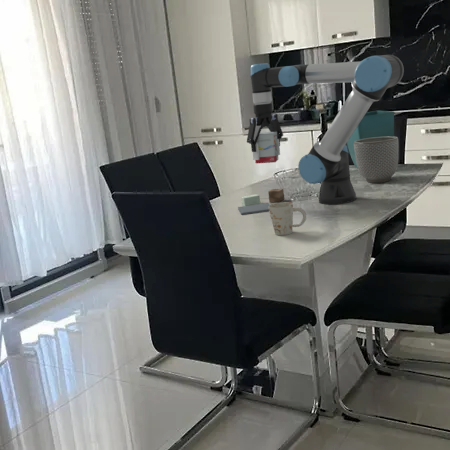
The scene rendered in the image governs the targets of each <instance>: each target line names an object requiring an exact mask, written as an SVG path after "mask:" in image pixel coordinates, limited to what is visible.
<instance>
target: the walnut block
mask: <svg viewBox="0 0 450 450" xmlns="http://www.w3.org/2000/svg"><path fill="white" fill-rule="evenodd" d="M284 193H285V192H284V188H271V189H270V190H268V200H269V202H268V203H269V204H272V203H280V202H283V201H284V200H285V194H284Z"/></svg>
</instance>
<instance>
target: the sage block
mask: <svg viewBox="0 0 450 450" xmlns="http://www.w3.org/2000/svg"><path fill="white" fill-rule="evenodd" d="M240 198H241V199H240V200H241V207H242V206H249V205H256V204H261V200H260V199H261V198H260V195H259V194H257V193H255V194H250V195H245V196H241V197H240Z"/></svg>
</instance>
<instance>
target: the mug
mask: <svg viewBox="0 0 450 450" xmlns="http://www.w3.org/2000/svg"><path fill="white" fill-rule="evenodd" d="M294 212H299V213H301V215H302V219H301V221H300V223H298V224H297V223H296V224H293V221H294V220H293V219H294V218H293V216H294V214H293V213H294ZM268 213H269V215H270V219H271V223H272V224H271V225H272V228H273V231H274V235H277V236H286V235H291V234H292V233H293V228H298V227H301V226H303V225H304V224H305V222H306V220H307V213H306V211H305V210H304V209H303V208H302V207H297V206H296V207H294V204H293V202H290V201H284V202H283V201H281V202H273V203H270V204H269V211H268Z"/></svg>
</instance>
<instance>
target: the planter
mask: <svg viewBox="0 0 450 450" xmlns="http://www.w3.org/2000/svg"><path fill="white" fill-rule="evenodd" d="M354 150H355V157H356V163H357V168H358V169H357V170H358V173H359V175H360V176H361V177H362V178H364V179H365V181H366V182H367V183H370V184H371V183H372V184H375V183H376V184H378V183H379V184H380V183H385V182H389V181H391V179H392V177H393V176H394V175H395V174H396V172H397V169H398V166H399V137H398V136H395V135H394V136H384V137H372V138H365V139H360V140H356V141H354Z"/></svg>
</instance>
